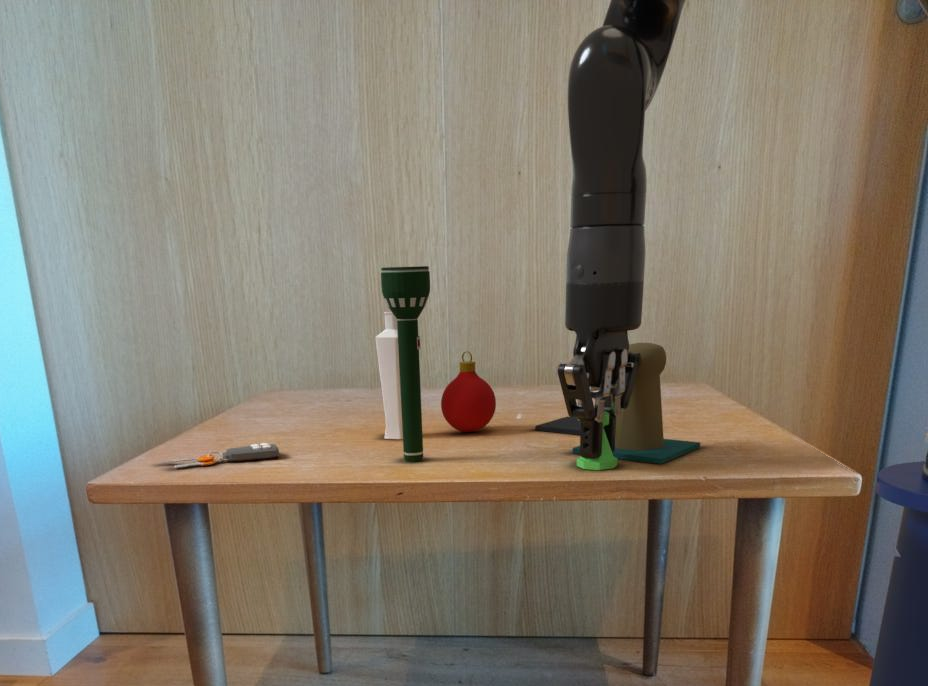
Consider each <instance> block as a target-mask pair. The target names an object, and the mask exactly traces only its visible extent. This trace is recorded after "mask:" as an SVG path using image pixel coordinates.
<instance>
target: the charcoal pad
mask: <svg viewBox="0 0 928 686" xmlns="http://www.w3.org/2000/svg"><path fill="white" fill-rule="evenodd" d="M534 430H535V431H539V432H547V433H557V434H568V435H577V436H580V433H581V423H580V421H578V420H577V418H575V417H569V416H564V417H561V418H557V419H553V420H551V421H547V422H543V423H539V424H536V425H535V426H534Z"/></svg>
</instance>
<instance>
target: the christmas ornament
mask: <svg viewBox="0 0 928 686" xmlns="http://www.w3.org/2000/svg"><path fill="white" fill-rule="evenodd" d="M466 353H467V354H469V356H470V360H469V361H467V360H466V361H465V359H464V357H465V354H466ZM461 360H462V361H460V362H459V373H458V374H457V376H456V377H454V379H452V380H451V381H450V382H449V383H448V384H447V385H446V387H445V389H444V390H443V392H442V395H441V401H440V408H441V413H442V415H443V418H444V419H445V421H446V422H447V424H448V425H450V426H451V427H452V428H453V429H455V430H457V431H460V432H462V433H474V432H478V431H480V430H482V429H484V428H485V427H487V425H488V424H490V422H491V421H492V419H493V418H494V415H495V412H496V406H497V401H496V400H497V399H496V395H495V392H494V390H493V388H492V387H491V385H490V384H489V383H488V382H487V381H486V380H484V379H483V378H482V377H480V376H479V375H478V373H477V371H476V361H473V355H472V353H471V352H470V351H468V350H467V351H464V352H463V353H462V355H461Z"/></svg>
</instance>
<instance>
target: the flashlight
mask: <svg viewBox="0 0 928 686" xmlns="http://www.w3.org/2000/svg"><path fill="white" fill-rule="evenodd" d="M380 268H381V270H380V271H381V273H380V278H381V279H380V285H381V286H380V287H381V292H382V296H383V299H384V302H385V303H386V306H387V307H388V309H389V310H390V312H392V313H393V314H394V316H395V317H396V318H397V331H398V351H399V370H400V390H401V410H402V430H403V439H402V447H403V448H402V449H403V459H404V460H405V461H406V462H409V463H416V462H421V461H422V460H423V458H424V438H423V415H422V391H421V390H422V388H421V366H420V365H421V364H420V350H421V335H420V336H419V317H420V315H421V314H422V312H423V311H424V309H425V307H426V306H427V303H428V300H429V297H430V292H431V274H430V270H429V269H430V267H429V266H428V265H426V266H425V265H423V266H421V265H420V266H419V265H418V266H396V267H395V266H391V267H390V266H389V267H380Z"/></svg>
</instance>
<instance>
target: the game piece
mask: <svg viewBox="0 0 928 686" xmlns="http://www.w3.org/2000/svg"><path fill="white" fill-rule="evenodd" d="M602 422H603V427H604V426H606V425H608V424H609V413H608V412H606V411H604V414H603V420H602ZM618 460H619V459H618V458H616V457H614V456H613V454H612V451H611V448H610V445H609V442H608V439H607V436H606V433H605V430H604V428H603V432H602V454H601V456H600V457H599V458H597V459H589V458H583V457H581V455H580V456H579V457H577V458H576V467H579V468H581V469H583V470H591V471H603V470H611V469H612V470H613V469H614V468H616V467H617V466H618Z"/></svg>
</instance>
